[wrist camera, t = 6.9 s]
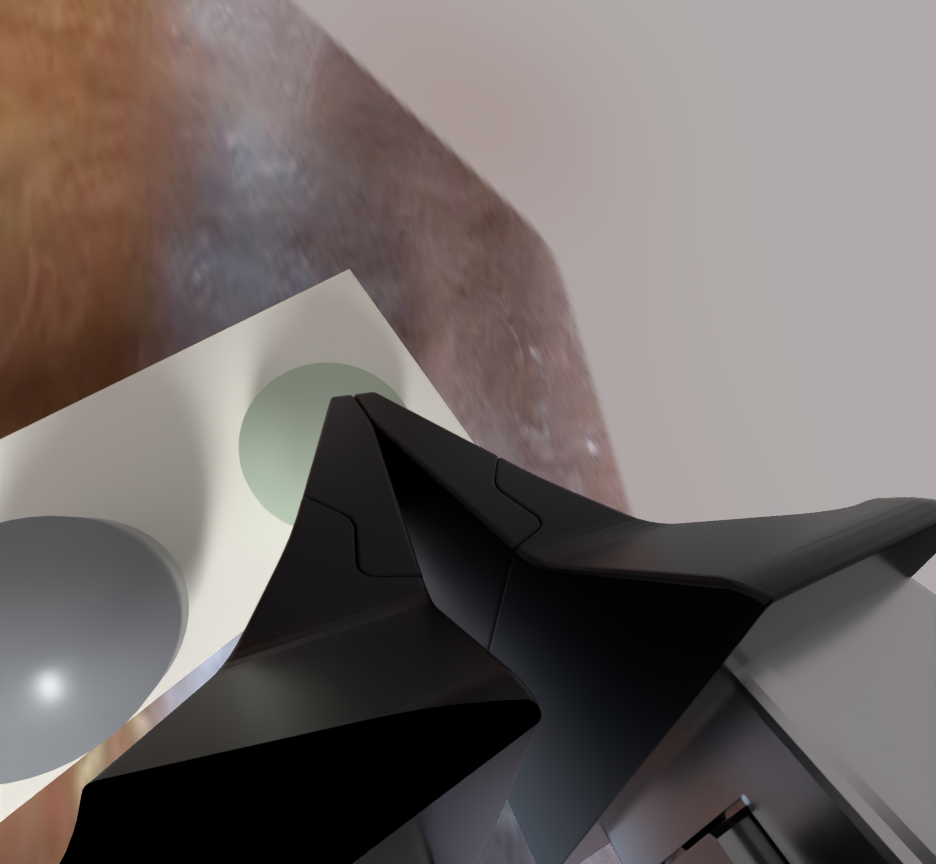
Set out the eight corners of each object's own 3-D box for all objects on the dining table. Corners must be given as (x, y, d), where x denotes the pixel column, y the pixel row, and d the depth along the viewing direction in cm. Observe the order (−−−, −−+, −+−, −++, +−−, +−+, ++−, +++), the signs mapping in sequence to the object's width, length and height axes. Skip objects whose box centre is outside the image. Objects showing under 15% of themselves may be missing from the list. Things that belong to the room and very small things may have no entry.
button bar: (412, 472, 22) (476, 446, 15) (-92, 856, 14) (-478, 1199, 7) (325, 354, 22) (349, 269, 15) (-248, 679, 14) (-841, 850, 6)
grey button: (231, 631, 11) (224, 646, 9) (13, 801, 9) (-35, 851, 7) (109, 476, 10) (83, 469, 9) (-143, 619, 8) (-223, 636, 7)
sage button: (431, 470, 14) (447, 463, 13) (308, 566, 12) (311, 570, 11) (346, 352, 14) (353, 333, 13) (206, 433, 12) (197, 421, 11)
